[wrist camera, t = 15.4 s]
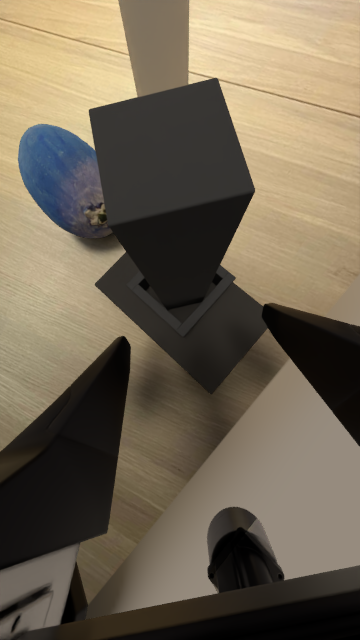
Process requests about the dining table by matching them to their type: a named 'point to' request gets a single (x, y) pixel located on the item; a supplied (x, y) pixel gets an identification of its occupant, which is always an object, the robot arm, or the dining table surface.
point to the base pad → (190, 321)
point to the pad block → (173, 185)
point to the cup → (157, 43)
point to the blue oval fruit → (64, 179)
